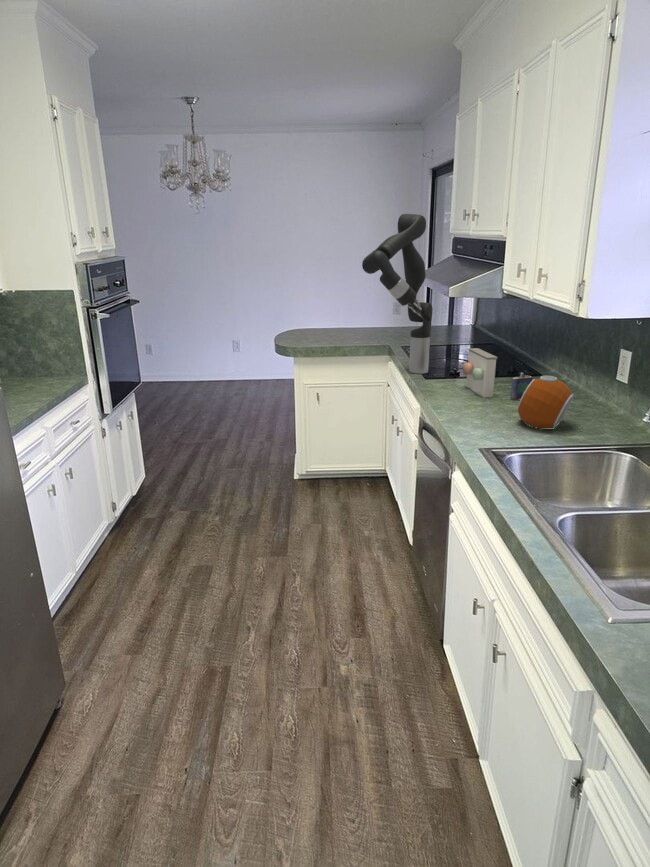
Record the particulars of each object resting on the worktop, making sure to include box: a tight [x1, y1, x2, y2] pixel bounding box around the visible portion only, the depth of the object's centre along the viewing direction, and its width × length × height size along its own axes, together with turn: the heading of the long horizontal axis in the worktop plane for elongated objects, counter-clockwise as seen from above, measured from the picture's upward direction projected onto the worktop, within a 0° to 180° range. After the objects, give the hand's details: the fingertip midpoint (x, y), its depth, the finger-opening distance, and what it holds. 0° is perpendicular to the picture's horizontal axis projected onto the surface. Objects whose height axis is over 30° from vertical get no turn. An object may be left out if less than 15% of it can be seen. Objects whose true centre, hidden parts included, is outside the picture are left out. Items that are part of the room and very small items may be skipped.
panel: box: [465, 347, 498, 398], centre depth 247 cm, size 19×4×17 cm, turn 10°
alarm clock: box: [516, 375, 575, 429], centre depth 206 cm, size 19×18×17 cm
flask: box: [509, 372, 533, 400], centre depth 238 cm, size 9×3×11 cm, turn 109°
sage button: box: [472, 368, 483, 380], centre depth 242 cm, size 5×8×5 cm, turn 100°
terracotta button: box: [462, 362, 473, 376], centre depth 251 cm, size 5×8×5 cm, turn 100°
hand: (428, 320), depth 242 cm, fingers closed
